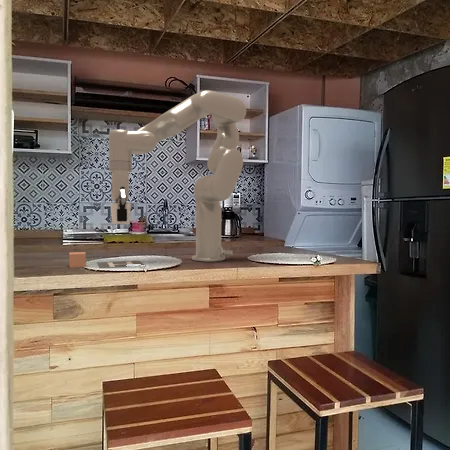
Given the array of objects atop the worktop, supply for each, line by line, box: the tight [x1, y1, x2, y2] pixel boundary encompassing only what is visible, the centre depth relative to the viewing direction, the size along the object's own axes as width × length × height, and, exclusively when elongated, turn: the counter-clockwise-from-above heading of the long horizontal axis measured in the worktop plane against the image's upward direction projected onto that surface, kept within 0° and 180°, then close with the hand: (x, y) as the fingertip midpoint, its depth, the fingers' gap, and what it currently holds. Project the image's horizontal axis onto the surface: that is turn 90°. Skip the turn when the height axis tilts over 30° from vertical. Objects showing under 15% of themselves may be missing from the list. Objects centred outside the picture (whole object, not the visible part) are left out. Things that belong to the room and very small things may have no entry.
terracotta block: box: [68, 251, 87, 269], centre depth 148 cm, size 5×5×5 cm
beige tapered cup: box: [109, 202, 132, 225], centre depth 152 cm, size 7×7×7 cm
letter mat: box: [96, 260, 145, 269], centre depth 153 cm, size 15×14×1 cm
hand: (120, 220), depth 152 cm, fingers closed on beige tapered cup, 6 cm apart
